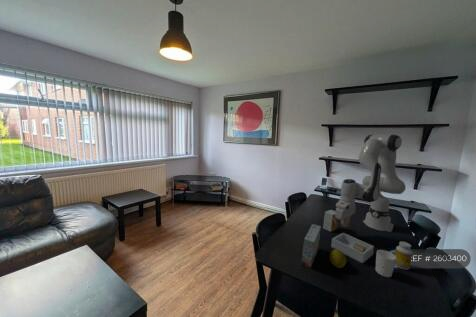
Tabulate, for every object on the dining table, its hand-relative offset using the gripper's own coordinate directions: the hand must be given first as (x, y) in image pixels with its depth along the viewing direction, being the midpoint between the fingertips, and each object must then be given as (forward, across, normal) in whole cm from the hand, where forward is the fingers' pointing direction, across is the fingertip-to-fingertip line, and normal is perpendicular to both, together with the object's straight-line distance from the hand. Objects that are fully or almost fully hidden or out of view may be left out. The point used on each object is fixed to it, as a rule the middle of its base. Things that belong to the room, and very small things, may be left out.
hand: (345, 222), depth 132 cm
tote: (+9, +15, +12) cm, 21 cm away
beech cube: (+8, +15, +16) cm, 24 cm away
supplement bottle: (+9, +5, +34) cm, 35 cm away
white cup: (+9, +20, +30) cm, 37 cm away
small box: (+10, 0, -10) cm, 14 cm away
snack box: (+8, +41, +3) cm, 42 cm away
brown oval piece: (+2, 0, 0) cm, 2 cm away
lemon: (+8, +35, +14) cm, 39 cm away
